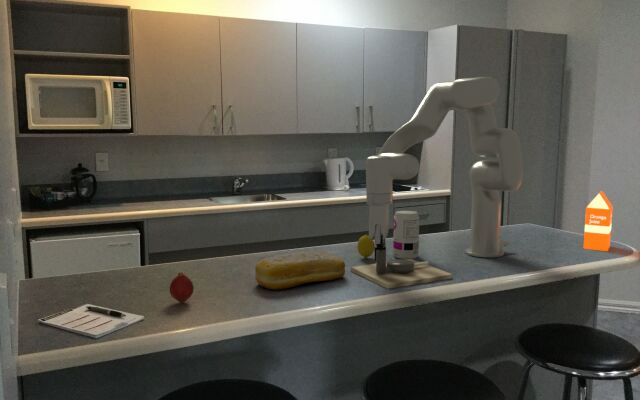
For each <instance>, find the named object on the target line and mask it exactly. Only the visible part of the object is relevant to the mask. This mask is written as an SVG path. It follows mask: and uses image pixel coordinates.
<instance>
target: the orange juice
mask: <svg viewBox="0 0 640 400" xmlns="http://www.w3.org/2000/svg"><path fill="white" fill-rule="evenodd" d="M613 208H614V207H613V205H612V204H611V202H610V200H609V199H608V197H607V196H606V194H605V193H604V191H603V190H600V192H599V193H598V194H597V195H596V196H595V197H594V198H593V199H592V200H591V201H590V203H589V204H588V205H587V206H586V207H585V218H584V219H585V222H584V233H583V234H584V236H583V237H584V238H583V249H586V250H595V251H603V252H604V251H605V252H608V251H609V249H610V246H611V235H612V234H611V233H612V224H613V223H612V219H613V210H614V209H613Z"/></svg>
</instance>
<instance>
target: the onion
mask: <svg viewBox="0 0 640 400" xmlns="http://www.w3.org/2000/svg"><path fill="white" fill-rule="evenodd" d="M193 283H194V282H193V281H192V280H191V279H190V278H189V277H188V276H187V275H185V274H184V273H183V272H182V271H180V272H178V273H177V276H175V277H174V278H173V279H172V280H171V283H170V284H169V293H170V296H171V297H172V298H173V299H174V300H175V301H177V302H178V303H180V304H183V303H185V302H186V301H188V300H189V299H190V298H191V296H192V295H193V293H194V289H195V288H194V284H193Z"/></svg>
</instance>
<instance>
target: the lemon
mask: <svg viewBox="0 0 640 400" xmlns="http://www.w3.org/2000/svg"><path fill="white" fill-rule="evenodd" d="M357 242H358V243H357V252H358V254H359V255H360V256H361V257H363V258H364V259H368V258H369V257H370V256H372V255H373V253H375V249H374V247H375V240H374V239H373V238H372V239H370V238H369V234H364V235H362V236H361V237H360V238H359V239H358V241H357Z"/></svg>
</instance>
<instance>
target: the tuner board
mask: <svg viewBox="0 0 640 400" xmlns="http://www.w3.org/2000/svg"><path fill="white" fill-rule="evenodd" d="M405 260H408V261H412V262H414V263H419V262H420V261H418V260H416V259H405ZM387 262H388V261H386V266H387ZM350 272H352V273H354V274H355V275H356V274H357V275H358V276H360V277H362V278H364V279H366V280H369V281H370V282H372V283H375V284H377V285H379V286H381V287H383V288H385V289H387V290H389V289H396V288H402V287H408V286H413V285H420V284H425V283H431V282H438V281H444V280H451V279H453V273H450V272H447V271H445V270H442V269H440V268H436V267H434V266H431V265H430V264H427V265H421V266H415V267H414V271H412V272H406V273H398V272H386V273H383V274H380V273H376V263H371V264H370V263H369V264H364V265H356V266H351V267H350Z"/></svg>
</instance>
